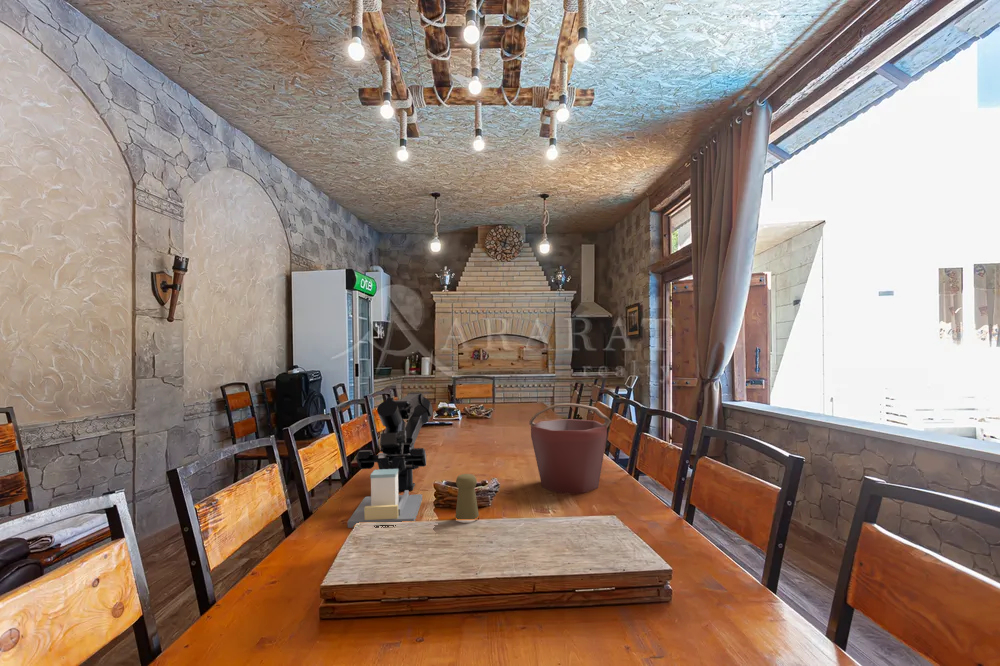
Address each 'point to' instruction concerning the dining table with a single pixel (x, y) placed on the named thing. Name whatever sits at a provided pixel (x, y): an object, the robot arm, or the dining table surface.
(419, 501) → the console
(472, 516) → the olive green pawn
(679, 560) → the dining table surface
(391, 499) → the white teal-topped box
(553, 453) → the bucket
